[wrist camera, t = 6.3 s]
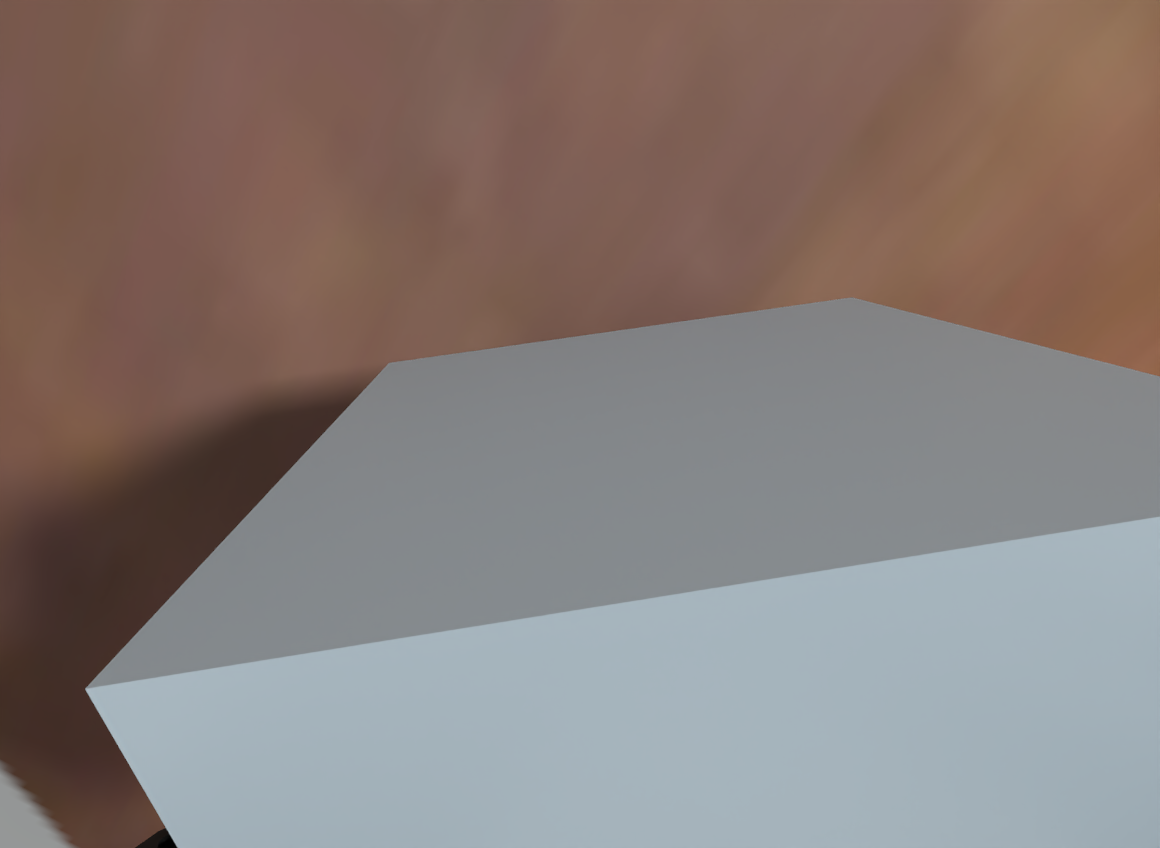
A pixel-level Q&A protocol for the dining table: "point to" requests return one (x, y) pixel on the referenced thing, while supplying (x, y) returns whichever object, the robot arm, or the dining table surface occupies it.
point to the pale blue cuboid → (681, 603)
